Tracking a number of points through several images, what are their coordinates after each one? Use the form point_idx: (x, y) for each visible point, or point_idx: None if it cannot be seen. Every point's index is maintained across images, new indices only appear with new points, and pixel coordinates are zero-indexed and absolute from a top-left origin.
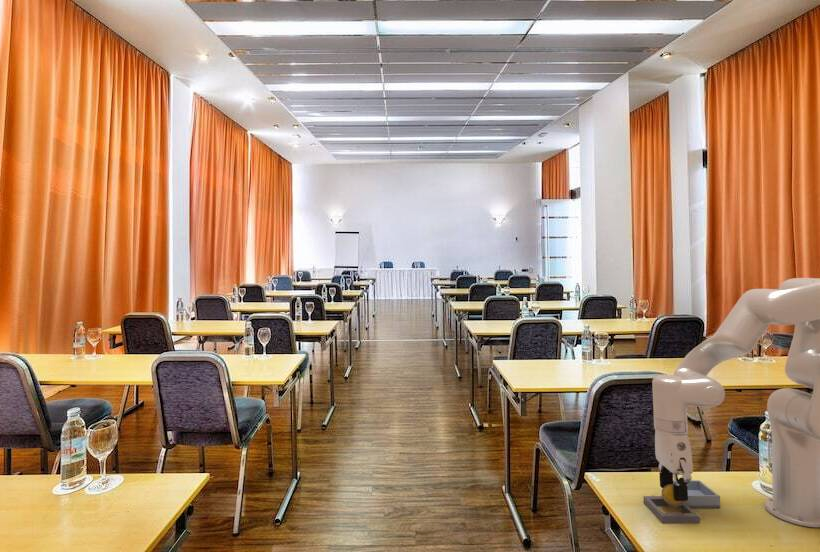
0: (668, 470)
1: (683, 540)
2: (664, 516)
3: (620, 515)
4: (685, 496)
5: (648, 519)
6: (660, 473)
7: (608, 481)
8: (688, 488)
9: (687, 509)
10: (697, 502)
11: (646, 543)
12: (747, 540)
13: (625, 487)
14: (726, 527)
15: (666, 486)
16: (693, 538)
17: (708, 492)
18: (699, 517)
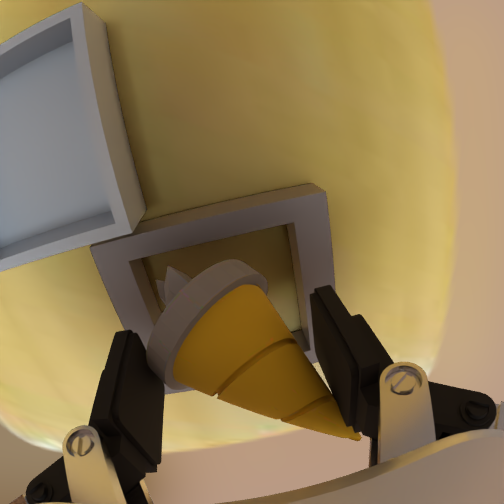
0: (124, 458)
1: (428, 286)
2: None
3: (285, 430)
4: (364, 321)
5: None
6: (156, 469)
7: (46, 424)
8: None
9: (244, 231)
10: (120, 141)
11: (426, 375)
12: (413, 38)
13: (57, 396)
14: (325, 63)
15: (176, 382)
16: (421, 250)
17: (7, 61)
18: (324, 191)
